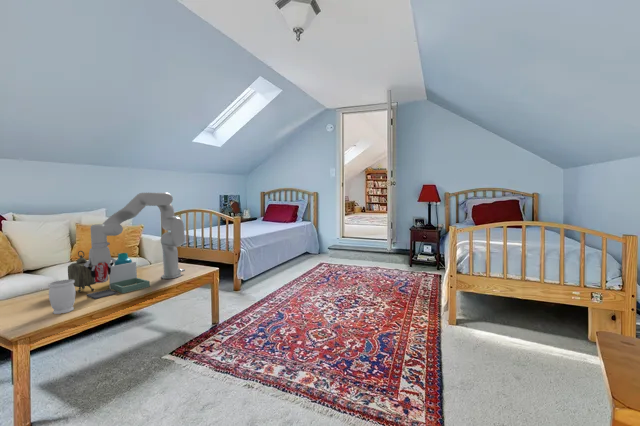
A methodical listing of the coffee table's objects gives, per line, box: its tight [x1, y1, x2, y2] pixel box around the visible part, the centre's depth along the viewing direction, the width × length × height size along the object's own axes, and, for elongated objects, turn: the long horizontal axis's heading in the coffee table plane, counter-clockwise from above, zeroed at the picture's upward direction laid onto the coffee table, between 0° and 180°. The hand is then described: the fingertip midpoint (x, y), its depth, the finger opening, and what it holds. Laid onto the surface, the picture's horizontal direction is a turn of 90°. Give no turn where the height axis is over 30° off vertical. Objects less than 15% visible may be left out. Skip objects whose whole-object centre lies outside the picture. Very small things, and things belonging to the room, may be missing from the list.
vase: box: [113, 252, 133, 266], centre depth 213 cm, size 11×11×19 cm
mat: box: [85, 288, 119, 300], centre depth 186 cm, size 12×12×1 cm
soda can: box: [94, 262, 109, 284], centre depth 185 cm, size 7×7×12 cm
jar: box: [47, 279, 77, 315], centre depth 159 cm, size 11×10×15 cm
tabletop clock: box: [67, 250, 97, 293], centre depth 192 cm, size 14×9×25 cm, turn 62°
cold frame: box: [108, 261, 151, 294], centre depth 198 cm, size 16×17×14 cm
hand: (101, 275), depth 185 cm, fingers closed on soda can, 7 cm apart
